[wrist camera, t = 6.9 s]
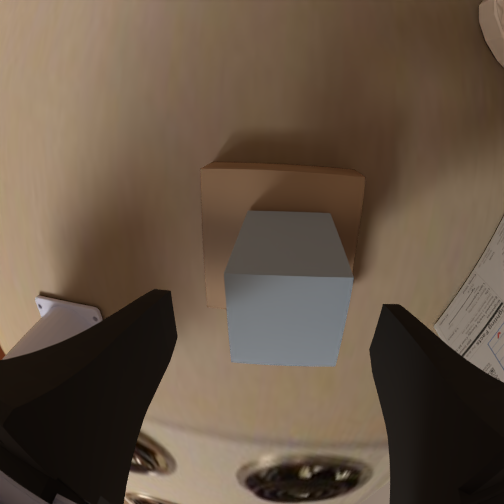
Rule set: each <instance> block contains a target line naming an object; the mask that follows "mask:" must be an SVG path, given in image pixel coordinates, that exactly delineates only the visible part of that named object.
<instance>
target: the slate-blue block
mask: <svg viewBox="0 0 504 504" xmlns="http://www.w3.org/2000/svg"><path fill="white" fill-rule="evenodd" d="M353 280H354V277H353V274H352V271H351V268H350V265H349V262H348V259H347V256H346V254H345V251H344V248H343V245H342V243H341V240H340V237H339V235H338V232H337V229H336V227H335V224H334V222H333V219H332V216H331V214H330V213H315V212H286V211H248V212H247V214H246V217H245V219H244V222H243V225H242V227H241V230H240V232H239V235H238V237H237V240H236V243H235V245H234V248H233V250H232V253H231V256H230V258H229V261H228V264H227V266H226V269H225V271H224V282H225V295H226V308H227V320H228V331H229V343H230V353H231V362H235V363H248V364H263V365H283V366H335V365H336V361H337V357H338V353H339V349H340V345H341V340H342V336H343V331H344V327H345V322H346V317H347V312H348V307H349V302H350V297H351V291H352V286H353Z"/></svg>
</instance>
